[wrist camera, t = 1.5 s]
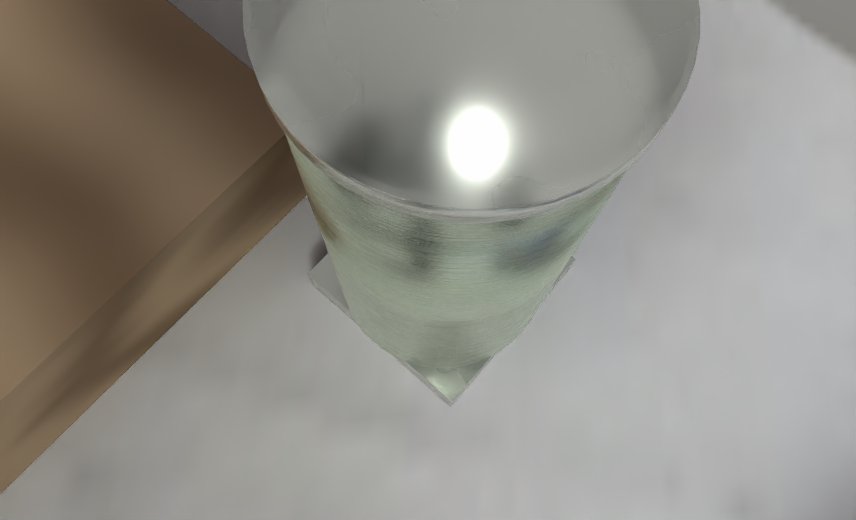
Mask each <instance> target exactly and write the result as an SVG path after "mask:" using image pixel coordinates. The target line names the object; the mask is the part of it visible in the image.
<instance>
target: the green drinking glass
mask: <svg viewBox="0 0 856 520" xmlns="http://www.w3.org/2000/svg"><path fill="white" fill-rule="evenodd" d="M242 13H243V30H244V36H245V41H246V46H247V50H248V55H249V59H250V61H251V64H252V66H253V69H254V72H255V74H256V77H257V80H258V82H259V85H260V87H261V90H262V93H263V95H264V98H265V100H266V103H267V105H268V106H269V108H270V110H271V112H272V113H273V115H274V117H275V119H276V120H277V122H278V124H279V126H280V127H281V128H282V130H283V131H284V132H285V135H286V138H287V141H288V143H289V146H290V149H291V152H292V154H293V157H294V160H295V163H296V165H297V168H298V171H299V174H300V176H301V179H302V182H303V185H304V187H305V190H306V193H307V196H308V198H309V201H310V204H311V207H312V209H313V212H314V215H315V218H316V220H317V223H318V226H319V229H320V231H321V234H322V237H323V240H324V242H325V245H326V248H327V251H328V254H327V255H326V256H325V257H324V258H323V259H322V260H321V261H320V262H319V263H318V264H317V265H316V266H315V267H314V268H313V269H312V270H311V271H310V272H309V273H308V276H309V278H310V280H311V282H312V284H313V285H314V286H316V287H317V288H318V289H319V290H320V291H321V292H322V293H323V294H325V295H326V296H327V297H328V298H329V299H330V300H331V301H332V302H334V303H335V304H336V305H337V306H338V307H339V308H340V309H341V310H343V311H344V312H345V313H346V314H347V315H348V316H349V317H350V318H352V319H353V320H354V321H355V322H356V323H357V324H358V325H359V326H360V328H361V329H362V330H363V332H364V333H365V334H366V335H367V336H368V337H369V338H370V339H371V340H372V341H373V342H374V343H376V344H377V345H378V346H380V347H381V348H382V349H383V350H385V351H387V352H389V353H390V354H392V355H393V356H394V357H395V358H397V359H398V360H399V361H400V362H401V363H402V364H403V365H404V366H406V367H407V368H408V369H409V370H410V371H411V372H412V373H413V374H415V375H416V376H417V377H418V378H419V379H420V380H421V381H422V382H424V383H425V384H426V385H427V386H428V387H429V388H430V389H431V390H433V391H434V392H435V393H436V394H437V395H438V396H439V397H440V398H442V399H443V400H444V401H445V402H446V403H447V404H448V405H449V406H451V405H452V404H453V403H454V402H455V400H456V399H457V398H458V397H459V396H460V395H461V393H462V392H463V391H464V390H465V389H466V388H467V387H468V385H469V384H470V383H471V382H472V381H473V380H474V378H475V377H476V376H477V375H478V374H479V373H480V371H481V370H482V369H483V368H484V367H485V366H486V364H487V363H488V362H489V361H490V360H491V359H492V358H493V356H494V355H495V354H496V353H498V352H499V351H501V350H502V349H504V348H505V347H506V346H508V345H509V344H510V343H511V342H512V341H513V340H514V339H515V338H516V337H517V336H518V335H519V334H520V333H521V332H522V331H523V330H524V328H525V327H526V326H527V324H528V323H529V321H530V320H531V318H532V317H533V315H534V314H535V312H536V310H537V309H538V307H539V306H540V304H541V303H542V301H543V300H544V298H545V296H546V295H547V294H548V293H549V291H550V290H551V289H552V288H553V287H554V286H555V284H556V283H557V282H558V281H559V280H560V279H561V277H562V276H563V275H564V274H565V273H566V272H567V270H568V269H569V268H570V266H571V265H572V263H573V262H574V260H575V259H574V258H573V257H572V254H573V253H574V251H575V250H576V248H577V247H578V245H579V243H580V242H581V240H582V239H583V237H584V236H585V234H586V233H587V231H588V229H589V228H590V226H591V225H592V223H593V222H594V220H595V218H596V217H597V215H598V214H599V212H600V211H601V209H602V208H603V206H604V204H605V203H606V201H607V200H608V198H609V197H610V195H611V194H612V192H613V190H614V189H615V187H616V186H617V184H618V183H619V181H620V180H621V178H622V176H623V175H624V173H625V172H626V170H627V169H628V168H629V167H630V166H631V165H632V164H633V163H634V162H635V161H636V160H637V159H638V158H639V157H640V156H641V155H642V154H643V153H644V152H645V151H646V149H647V148H648V147H649V145H650V144H651V143H652V141H653V140H654V139H655V137H656V136H657V135H658V133H659V132H660V131H661V129H662V128H663V126H664V125H665V123H666V122H667V120H668V119H669V117H670V116H671V114H672V113H673V111H674V110H675V108H676V106H677V104H678V102H679V100H680V98H681V97H682V95H683V93H684V91H685V89H686V87H687V84H688V81H689V79H690V76H691V73H692V70H693V67H694V64H695V60H696V54H697V49H698V43H699V38H700V9H699V2H698V0H243V4H242Z"/></svg>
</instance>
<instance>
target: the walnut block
mask: <svg viewBox="0 0 856 520" xmlns="http://www.w3.org/2000/svg"><path fill="white" fill-rule="evenodd" d="M306 195H307V193H306V190H305V187H304V185H303V182H302V179H301V176H300V174H299V171H298V168H297V165H296V163H295V160H294V157H293V154H292V152H291V149H290V146H289V143H288V141H287V138H286V135H285V132H284V131H283V130H282V128H281V127H280V126H279V124H278V122H277V120H276V119H275V117H274V115H273V113H272V112H271V110H270V108H269V106H268V105H267V103H266V100H265V98H264V95H263V93H262V90H261V87H260V85H259V82H258V80H257V77H256V74H255V72H254V71H252V70H251V69H250V68H249V67H248V66H246V65H245V64H244V63H243V62H242V61H240V60H239V59H238V58H237V57H236V56H234V55H233V54H232V53H231V52H229V51H228V50H227V49H226V48H225V47H223V46H222V45H221V44H220V43H219V42H217V41H216V40H215V39H214V38H213V37H211V36H210V35H209V34H208V33H206V32H205V31H204V30H203V29H202V28H200V27H199V26H198V25H197V24H196V23H194V22H193V21H192V20H191V19H190V18H188V17H187V16H186V15H185V14H183V13H182V12H181V11H180V10H179V9H177V8H176V7H175V6H174V5H173V4H171V3H170V2H169V1H168V0H0V494H1V493H2V492H3V491H4V490H5V489H6V488H7V487H8V486H9V485H10V484H11V483H12V482H13V481H14V480H15V479H16V478H17V477H18V476H19V475H20V474H21V473H22V472H23V471H24V470H25V469H26V468H27V467H28V466H29V465H30V464H31V463H32V462H33V461H34V460H35V459H36V458H37V457H39V456H40V455H41V454H42V453H43V452H44V451H45V450H46V449H47V448H48V447H49V446H50V445H51V444H52V443H53V442H54V441H55V440H56V439H57V438H58V437H59V436H60V435H61V434H62V433H63V432H64V431H65V430H66V429H67V428H68V427H69V426H70V425H71V424H72V423H73V422H74V421H75V420H76V419H77V418H78V417H79V416H80V415H82V414H83V413H84V412H85V411H86V410H87V409H88V408H89V407H90V406H91V405H92V404H93V403H94V402H95V401H96V400H97V399H98V398H99V397H100V396H101V395H102V394H103V393H104V392H105V391H106V390H107V389H108V388H109V387H110V386H111V385H112V384H113V383H114V382H115V381H116V380H117V379H118V378H119V377H120V376H121V375H122V374H124V373H125V372H126V371H127V370H128V369H129V368H130V367H131V366H132V365H133V364H134V363H135V362H136V361H137V360H138V359H139V358H140V357H141V356H142V355H143V354H144V353H145V352H146V351H147V350H148V349H149V348H150V347H151V346H152V345H153V344H154V343H155V342H156V341H157V340H158V339H159V338H160V337H161V336H162V335H163V334H164V333H165V332H167V331H168V330H169V329H170V328H171V327H172V326H173V325H174V324H175V323H176V322H177V321H178V320H179V319H180V318H181V317H182V316H183V315H184V314H185V313H186V312H187V311H188V310H189V309H190V308H191V307H192V306H193V305H194V304H195V303H196V302H197V301H198V300H199V299H200V298H201V297H202V296H203V295H204V294H205V293H206V292H207V291H209V290H210V289H211V288H212V287H213V286H214V285H215V284H216V283H217V282H218V281H219V280H220V279H221V278H222V277H223V276H224V275H225V274H226V273H227V272H228V271H229V270H230V269H231V268H232V267H233V266H234V265H235V264H236V263H237V262H238V261H239V260H240V259H241V258H242V257H243V256H244V255H245V254H246V253H247V252H248V251H249V250H250V249H252V248H253V247H254V246H255V245H256V244H257V243H258V242H259V241H260V240H261V239H262V238H263V237H264V236H265V235H266V234H267V233H268V232H269V231H270V230H271V229H272V228H273V227H274V226H275V225H276V224H277V223H278V222H279V221H280V220H281V219H282V218H283V217H284V216H285V215H286V214H287V213H288V212H289V211H290V210H291V209H292V208H293V207H295V206H296V205H297V204H298V203H299V202H300V201H301V200H302V199H303V198H304V197H305V196H306Z"/></svg>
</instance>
